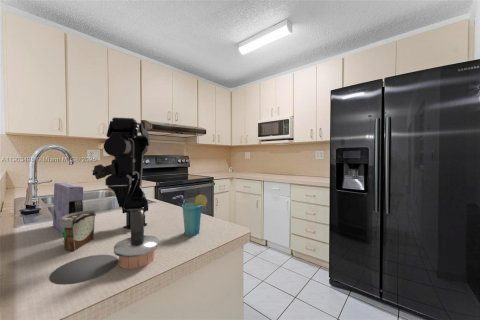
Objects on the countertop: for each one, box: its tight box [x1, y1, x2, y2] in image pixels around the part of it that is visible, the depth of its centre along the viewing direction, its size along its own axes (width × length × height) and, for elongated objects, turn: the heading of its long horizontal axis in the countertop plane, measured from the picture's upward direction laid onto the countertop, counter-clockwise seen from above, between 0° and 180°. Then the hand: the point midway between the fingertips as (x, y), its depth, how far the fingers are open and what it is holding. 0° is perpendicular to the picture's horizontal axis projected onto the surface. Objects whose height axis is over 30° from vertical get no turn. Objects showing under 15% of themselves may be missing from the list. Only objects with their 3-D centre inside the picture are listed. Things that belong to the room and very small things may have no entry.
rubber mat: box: [48, 254, 119, 285], centre depth 54 cm, size 14×14×1 cm
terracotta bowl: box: [118, 249, 156, 270], centre depth 58 cm, size 8×8×4 cm
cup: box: [171, 194, 208, 236], centre depth 79 cm, size 14×8×15 cm, turn 136°
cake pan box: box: [52, 181, 84, 233], centre depth 82 cm, size 19×5×18 cm, turn 54°
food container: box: [59, 210, 97, 252], centre depth 68 cm, size 12×6×10 cm, turn 5°
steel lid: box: [113, 209, 160, 257], centre depth 58 cm, size 11×11×10 cm
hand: (124, 203), depth 70 cm, fingers open, 9 cm apart
